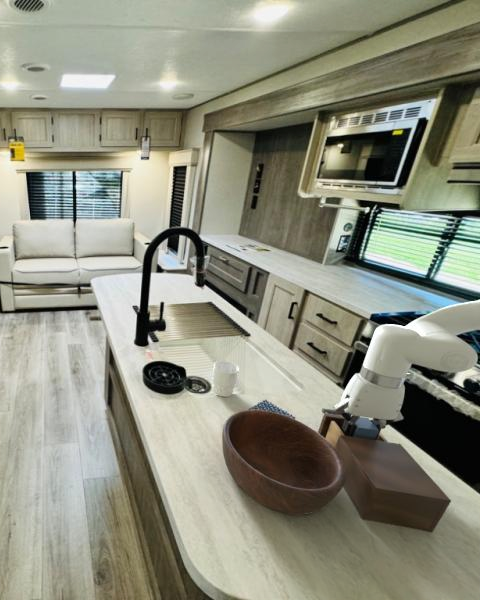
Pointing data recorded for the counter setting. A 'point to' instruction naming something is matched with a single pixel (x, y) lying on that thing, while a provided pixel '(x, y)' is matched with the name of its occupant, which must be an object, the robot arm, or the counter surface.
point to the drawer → (335, 427)
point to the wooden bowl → (281, 461)
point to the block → (365, 429)
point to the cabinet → (390, 484)
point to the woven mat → (270, 408)
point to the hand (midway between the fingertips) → (358, 434)
